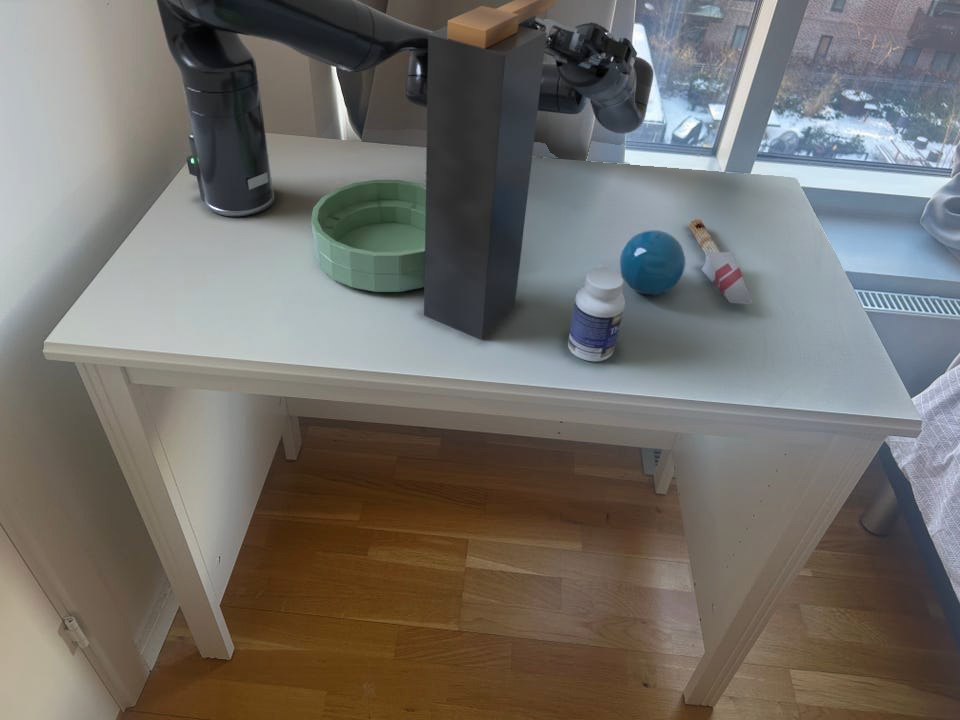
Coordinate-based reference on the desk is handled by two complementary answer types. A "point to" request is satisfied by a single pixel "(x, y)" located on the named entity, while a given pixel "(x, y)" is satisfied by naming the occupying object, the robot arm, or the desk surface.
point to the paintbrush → (721, 267)
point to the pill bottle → (597, 315)
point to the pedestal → (478, 174)
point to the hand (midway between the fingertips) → (553, 23)
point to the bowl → (372, 235)
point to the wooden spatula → (494, 22)
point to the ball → (652, 262)
